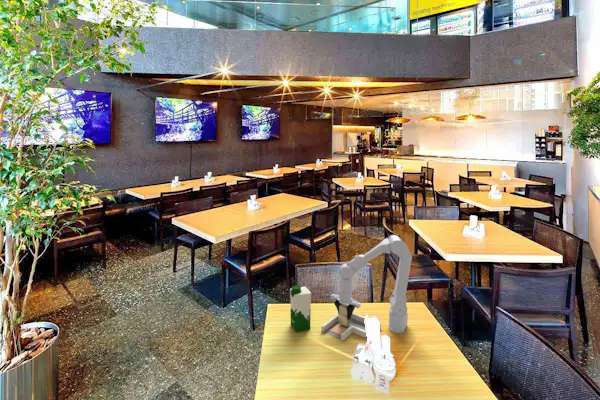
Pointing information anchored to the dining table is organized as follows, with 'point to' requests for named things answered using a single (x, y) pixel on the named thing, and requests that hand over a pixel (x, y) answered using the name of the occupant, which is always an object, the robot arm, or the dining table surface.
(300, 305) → the milk carton
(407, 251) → the robot arm
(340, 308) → the peg
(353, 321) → the walled channel course
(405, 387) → the dining table surface
